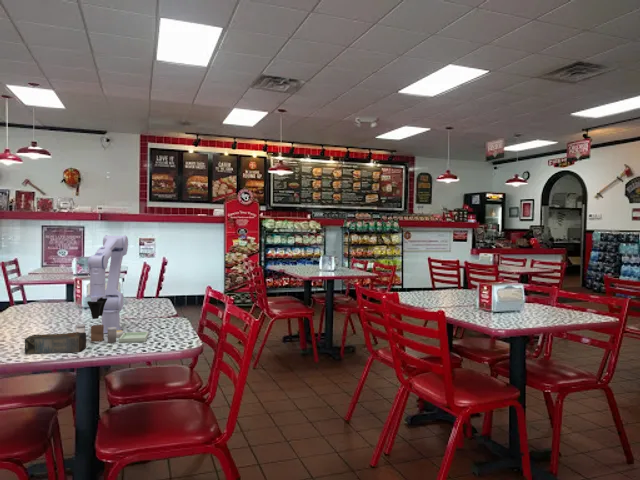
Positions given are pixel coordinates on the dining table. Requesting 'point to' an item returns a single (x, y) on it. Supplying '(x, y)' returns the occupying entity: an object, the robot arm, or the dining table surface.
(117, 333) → the sauce cup
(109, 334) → the pepper shaker
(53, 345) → the beverage carton
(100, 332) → the walnut block
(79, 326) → the salt shaker
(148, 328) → the dining table surface
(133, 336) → the basket tray
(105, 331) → the robot arm
